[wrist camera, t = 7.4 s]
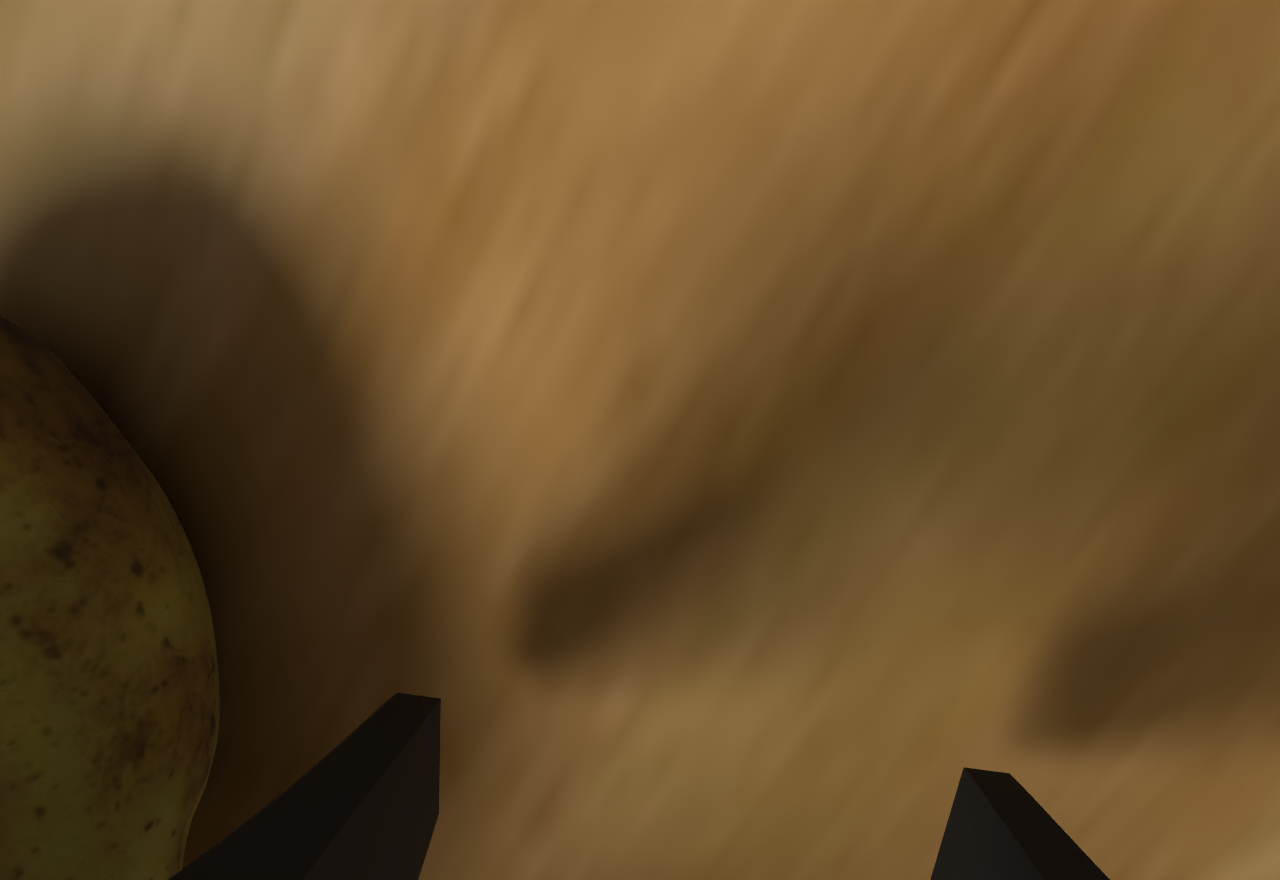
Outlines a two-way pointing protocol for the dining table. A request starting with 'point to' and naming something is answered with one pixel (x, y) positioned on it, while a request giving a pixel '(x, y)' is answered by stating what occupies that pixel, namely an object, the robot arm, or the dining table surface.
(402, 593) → the dining table surface
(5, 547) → the potato
